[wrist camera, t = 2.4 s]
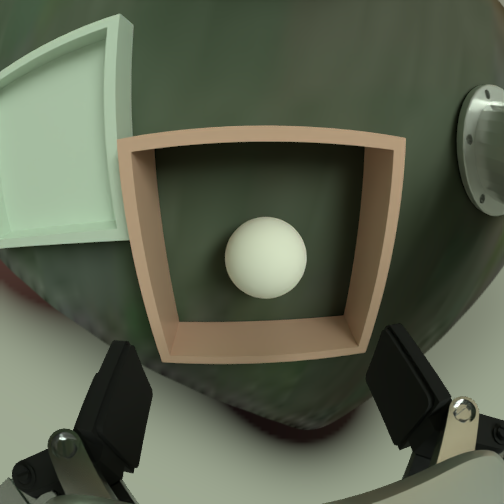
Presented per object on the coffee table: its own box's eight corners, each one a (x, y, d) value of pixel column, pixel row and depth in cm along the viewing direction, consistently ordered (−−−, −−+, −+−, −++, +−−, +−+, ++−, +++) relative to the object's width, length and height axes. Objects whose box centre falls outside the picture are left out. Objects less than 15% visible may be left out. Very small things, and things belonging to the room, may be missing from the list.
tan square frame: (375, 134, 16) (405, 138, 12) (350, 321, 23) (365, 352, 19) (142, 136, 16) (116, 139, 12) (171, 328, 22) (162, 362, 19)
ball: (299, 206, 18) (318, 233, 14) (296, 272, 20) (310, 312, 16) (225, 208, 18) (219, 235, 13) (228, 274, 20) (225, 316, 16)
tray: (133, 25, 12) (120, 13, 10) (142, 226, 18) (130, 240, 16) (-3, 86, 12) (-20, 87, 9) (12, 237, 18) (-4, 248, 16)
